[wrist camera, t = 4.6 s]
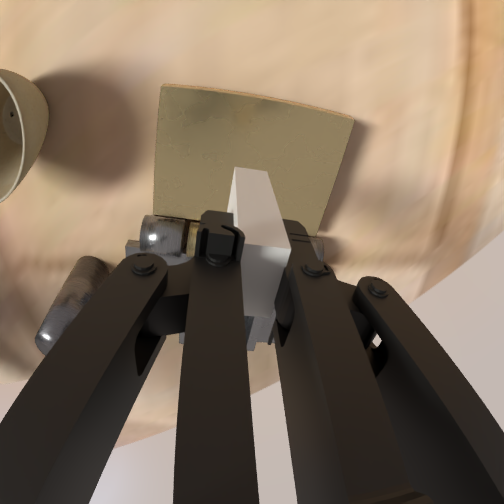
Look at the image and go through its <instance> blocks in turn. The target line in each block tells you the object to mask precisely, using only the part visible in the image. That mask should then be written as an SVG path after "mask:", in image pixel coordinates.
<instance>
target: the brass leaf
mask: <svg viewBox="0 0 504 504" xmlns="http://www.w3.org/2000/svg"><path fill="white" fill-rule="evenodd" d="M354 121H355V120H354V119H353V118H352V117H351V116H348V115H345V114H341V113H337V112H333V111H329V110H325V109H321V108H317V107H313V106H309V105H304V104H300V103H295V102H291V101H286V100H281V99H276V98H271V97H265V96H260V95H254V94H248V93H242V92H235V91H229V90H221V89H214V88H206V87H197V86H187V85H176V84H163V85H162V86H161V92H160V102H159V112H158V124H157V137H156V152H155V170H154V196H153V214H154V215H162V216H170V217H178V218H186V219H193V220H200V219H201V215H202V214H203V213H204V212H205V211H207V210H213V211H221V212H227V209H228V203H229V197H230V192H231V186H232V180H233V174H234V168H235V167H241V168H248V169H255V170H261V171H267V173H268V176H269V179H270V182H271V185H272V188H273V192H274V195H275V198H276V201H277V204H278V207H279V211H280V214H281V217H282V219H288V220H294V221H298V222H299V223H301V224H302V225H303V226H304V227H305V228H306V231H307V233H308V236H315V237H316V234H317V231H318V228H319V226H320V223H321V220H322V217H323V214H324V211H325V209H326V206H327V203H328V200H329V197H330V194H331V191H332V188H333V186H334V183H335V180H336V177H337V174H338V171H339V168H340V165H341V162H342V159H343V156H344V153H345V149H346V146H347V143H348V140H349V137H350V134H351V131H352V127H353V124H354ZM199 225H200V223H196V222H191V223H190V228H189V234H188V241H187V250H186V257H192V258H193V256H194V254H195V244H196V235H197V230H198V228H199Z"/></svg>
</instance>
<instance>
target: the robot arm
mask: <svg viewBox="0 0 504 504" xmlns="http://www.w3.org/2000/svg"><path fill="white" fill-rule="evenodd" d="M274 305H275V311H276V318H275V321H274V324H273V327H272V330H271V333H270V336H269V339H268V345H271V343H272V340H273V338H274V341H275V348H276V354H277V361H278V368H279V375H280V382H281V388H282V396H283V403H284V410H285V416H286V424H287V431H288V438H289V445H290V451H291V458H292V466H293V474H294V480H295V488H296V495H297V503H298V504H504V432H503V431H502V429H501V428H500V426H499V425H498V423H497V422H496V420H495V419H494V417H493V416H492V414H491V413H490V411H489V410H488V409H487V407H486V406H485V404H484V403H483V401H482V400H481V399H480V397H479V396H478V394H477V393H476V392H475V390H474V389H473V388H472V386H471V385H470V383H469V382H468V381H467V379H466V378H465V377H464V375H463V374H462V373H461V371H460V370H459V369H458V367H457V366H456V365H455V363H454V362H453V361H452V359H451V358H450V357H449V355H448V354H447V353H446V352H445V350H444V349H443V348H442V346H440V344H439V343H438V341H437V340H436V339H435V338H434V337H433V335H432V334H431V333H430V331H429V330H428V329H427V328H426V326H425V325H424V324H423V323H422V322H421V321H420V319H419V318H418V317H417V316H416V314H415V313H414V312H413V311H412V309H411V308H410V307H409V306H408V305H407V304H406V302H405V301H404V300H403V299H402V298H401V296H400V295H399V294H398V293H397V292H396V291H395V290H394V288H393V287H392V286H390V285H389V284H388V283H387V282H385V281H383V280H382V279H380V278H377V277H371V276H366V277H362V278H361V279H360V280H359V282H358V284H357V286H354V285H351V284H347V283H344V282H341V281H339V280H337V279H336V276H335V274H334V272H333V270H332V269H331V267H330V266H328V265H327V264H326V263H324V262H322V261H320V260H318V258H317V255H316V253H315V250H314V248H313V245H312V243H311V240H310V238H309V237H308V233H307V231H306V228H305V227H304V226H303V225H302V224H301V223H299V222H298V221H294V220H288V219H282V217H281V214H280V211H279V207H278V204H277V201H276V198H275V195H274V192H273V188H272V185H271V182H270V179H269V176H268V173H267V171H261V170H255V169H248V168H241V167H235V168H234V174H233V180H232V186H231V192H230V197H229V203H228V209H227V212H221V211H213V210H207V211H205V212H204V213H203V214H202V215H201V219H200V225H199V228H198V230H197V235H196V244H195V254H194V256H193V258H192V259H190V260H189V261H187V262H185V263H182V264H178V265H170V266H168V265H167V262H166V261H165V260H164V259H163V258H162V257H160V256H158V255H155V254H152V253H145V252H144V253H135V254H132V255H129V256H127V257H126V258H125V259H123V260H122V261H121V263H120V264H119V265H118V266H117V267H116V268H115V269H114V271H113V272H112V273H111V274H110V275H109V277H108V278H107V279H106V280H105V281H104V282H103V284H102V285H101V286H100V287H99V288H98V290H97V291H96V292H95V293H94V294H93V296H92V297H91V298H90V299H89V301H88V302H87V303H86V304H85V306H84V307H83V308H82V309H81V311H80V312H79V313H78V314H77V316H76V317H75V318H74V319H73V321H72V322H71V323H70V325H69V326H68V327H67V328H66V330H65V331H64V332H63V334H62V335H61V336H60V338H59V339H58V340H57V342H56V343H55V344H54V346H53V347H52V348H51V350H50V351H49V352H48V354H47V355H46V356H45V358H44V359H43V361H42V362H41V363H40V365H39V366H38V368H37V369H36V370H35V372H34V373H33V375H32V376H31V378H30V379H29V380H28V382H27V383H26V385H25V386H24V388H23V389H22V391H21V392H20V394H19V395H18V397H17V398H16V400H15V401H14V403H13V404H12V406H11V407H10V409H9V410H8V412H7V414H6V415H5V417H4V418H3V420H2V422H1V423H0V504H89V502H90V499H91V497H92V495H93V493H94V490H95V488H96V486H97V483H98V481H99V479H100V477H101V474H102V472H103V470H104V467H105V465H106V463H107V461H108V458H109V456H110V454H111V452H112V450H113V448H114V445H115V443H116V441H117V439H118V437H119V435H120V432H121V430H122V428H123V426H124V424H125V422H126V420H127V417H128V415H129V413H130V411H131V409H132V407H133V405H134V403H135V401H136V398H137V396H138V394H139V392H140V390H141V388H142V386H143V384H144V382H145V380H146V378H147V376H148V374H149V372H150V370H151V367H152V365H153V363H154V361H155V359H156V357H157V355H158V353H159V351H160V349H161V347H162V345H163V343H164V341H165V339H166V335H170V334H177V333H183V332H185V336H184V346H183V356H182V366H181V377H180V389H179V401H178V414H177V429H176V447H175V465H174V490H173V492H174V493H173V504H259V494H258V482H257V472H256V460H255V447H254V436H253V425H252V424H253V423H252V411H251V398H250V386H249V373H248V360H247V346H246V333H245V319H244V316H256V317H269V318H271V315H272V312H273V309H274ZM376 334H378V335H379V337H380V338H381V340H382V341H381V343H380V345H379V346H378V347H376V346H375V345H374V344H373V342H372V341H373V339H374V338H375V336H376Z"/></svg>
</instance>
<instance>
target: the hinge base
mask: <svg viewBox="0 0 504 504" xmlns="http://www.w3.org/2000/svg"><path fill="white" fill-rule="evenodd" d="M184 236H185V220H183V219H175V218H167V217H159V216H151V215H145V217H144V219H143V222H142V226H141V231H140V241H133V240H128V242H127V244H126V246H125V248H126V257H127V256H129V255H132V254H135V253H144V252H145V253H152V254H155V255H158V256H160V257H162V258H163V259H164V260H165V261H166V262H167V265H168V266H170V265H178V264H182V263H185V262H187V261H189V260H190V259H192V257H186V250H187V248H186V247H184ZM309 238H310V240H311V243H312V245H313V248H314V250H315V253H316V255H317V258H318V260H320V261H322V262H323V256H324V245H323V241H322V240H321V239H319V238H313V237H309ZM275 318H276V311H275V305H274V309H273V312H272V315H271V318H269V317H256V316H244V319H245V333H246V346H247V351H254V348H255V345H256V342H267V343H268V339H269V336H270V333H271V330H272V327H273V324H274V321H275ZM184 336H185V332H183V333H179V343H181V344H184ZM272 343H275V341H274V338H273V340H272Z"/></svg>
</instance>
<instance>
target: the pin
mask: <svg viewBox="0 0 504 504" xmlns="http://www.w3.org/2000/svg"><path fill="white" fill-rule="evenodd" d="M108 277H109V272H108V269H107V267H106V266H105V264H104V263H103V262H102V261H100V260H99V259H97V258H95V257H92V256H84V257H82V258H80V259H79V260H78V261H77V263H76V265H75V266H74V268H73V270H72V271H71V273H70V275H69V276H68V278H67V280H66V281H65V283H64V285H63V287H62V288H61V290H60V292H59V294H58V295H57V297H56V299H55V301H54V303H53V304H52V306H51V308H50V310H49V312H48V314H47V316H46V317H45V319H44V321H43V323H42V325H41V327H40V329H39V331H38V333H37V335H36V337H35V343H36V345H37V347H38V348H39V350H40V351H41V352H42V353H43V354H44V355H45V356H46V355H47V354H48V352H49V351H50V350H51V348H52V347H53V346H54V344H55V343H56V342H57V340H58V339H59V338H60V336H61V335H62V334H63V332H64V331H65V330H66V328H67V327H68V326H69V325H70V323H71V322H72V321H73V319H74V318H75V317H76V316H77V314H78V313H79V312H80V311H81V309H82V308H83V307H84V306H85V304H86V303H87V302H88V301H89V299H90V298H91V297H92V296H93V294H94V293H95V292H96V291H97V290H98V288H99V287H100V286H101V285H102V284H103V282H104V281H105V280H106V279H107V278H108Z"/></svg>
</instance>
